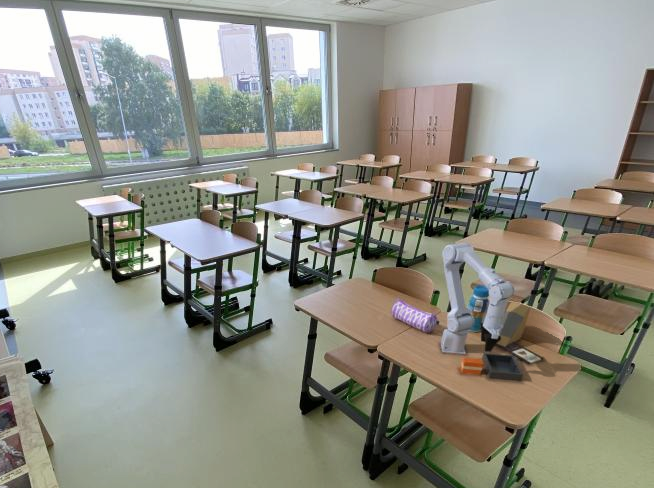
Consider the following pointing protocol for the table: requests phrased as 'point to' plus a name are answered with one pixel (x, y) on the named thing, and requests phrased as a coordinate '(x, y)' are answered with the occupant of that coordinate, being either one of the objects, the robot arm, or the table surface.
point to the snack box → (471, 365)
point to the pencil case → (414, 316)
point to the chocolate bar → (520, 352)
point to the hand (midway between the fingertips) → (485, 346)
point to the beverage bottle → (478, 306)
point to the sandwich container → (513, 323)
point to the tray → (501, 367)
